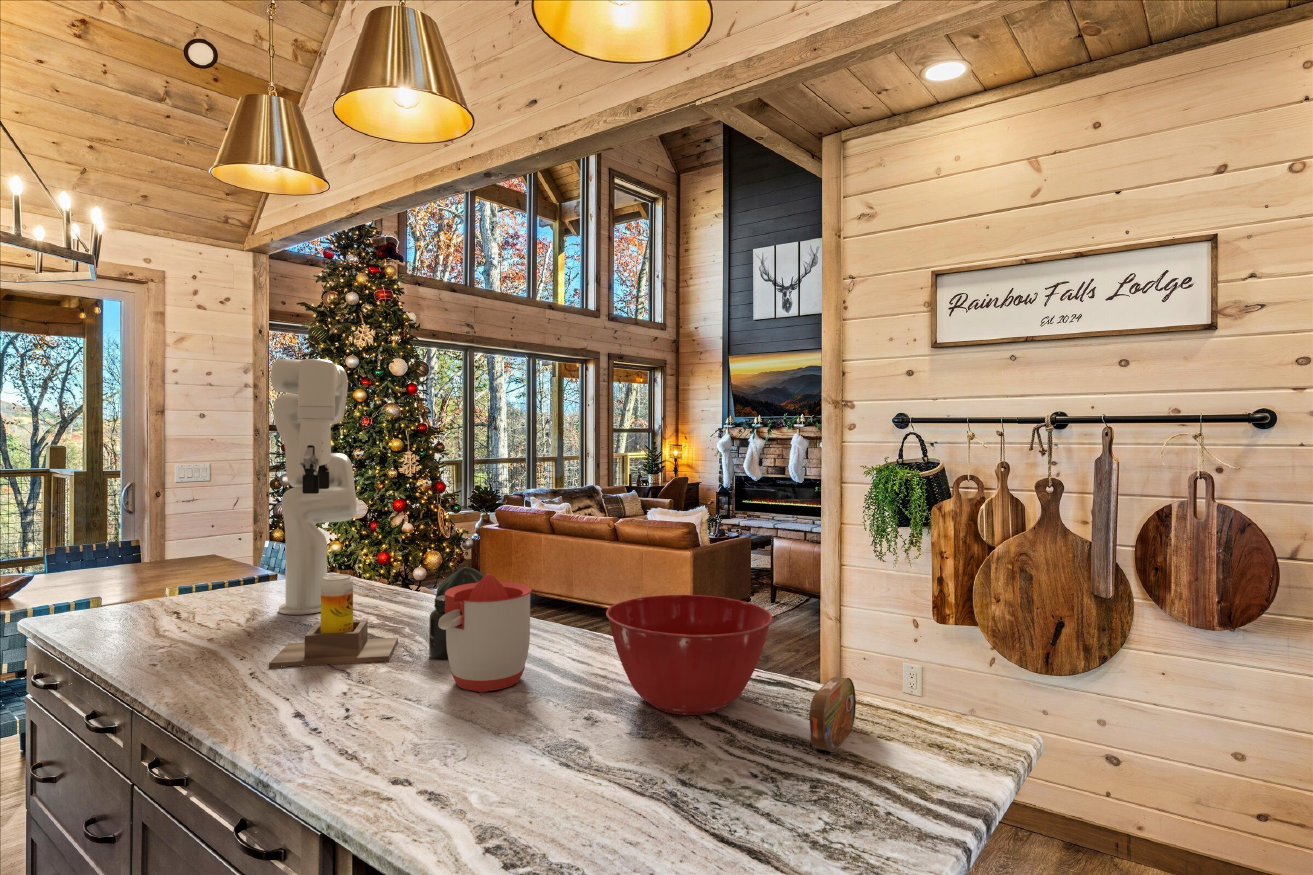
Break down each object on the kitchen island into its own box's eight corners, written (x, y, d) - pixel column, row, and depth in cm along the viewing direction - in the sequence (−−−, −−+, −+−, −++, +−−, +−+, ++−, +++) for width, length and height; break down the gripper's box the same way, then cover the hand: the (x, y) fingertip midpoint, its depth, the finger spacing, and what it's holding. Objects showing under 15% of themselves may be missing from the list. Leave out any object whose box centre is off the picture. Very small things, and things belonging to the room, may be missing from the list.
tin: (826, 761, 101) (827, 702, 101) (805, 756, 102) (805, 697, 102) (857, 724, 114) (858, 671, 113) (838, 720, 115) (838, 668, 115)
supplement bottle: (421, 658, 145) (421, 599, 145) (443, 648, 151) (443, 592, 151) (449, 662, 143) (449, 602, 142) (470, 652, 149) (470, 595, 149)
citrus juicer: (419, 684, 130) (419, 575, 130) (499, 662, 143) (499, 562, 143) (466, 707, 119) (466, 588, 119) (548, 681, 132) (549, 573, 132)
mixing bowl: (684, 662, 143) (685, 585, 143) (805, 701, 123) (805, 612, 123) (572, 698, 124) (573, 609, 123) (694, 752, 103) (695, 645, 103)
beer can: (344, 654, 144) (344, 580, 144) (315, 653, 144) (315, 579, 144) (358, 644, 150) (358, 573, 150) (329, 644, 150) (329, 573, 150)
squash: (479, 590, 183) (448, 551, 174) (520, 600, 174) (490, 561, 165) (444, 636, 174) (410, 598, 166) (485, 650, 166) (451, 610, 157)
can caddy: (288, 648, 151) (288, 622, 151) (398, 642, 156) (398, 616, 156) (268, 668, 139) (268, 639, 138) (388, 660, 143) (388, 633, 143)
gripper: (308, 414, 167) (308, 487, 168) (287, 414, 151) (287, 495, 151) (342, 414, 169) (342, 486, 170) (325, 415, 152) (325, 495, 153)
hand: (316, 490), depth 160 cm, fingers open, 9 cm apart
